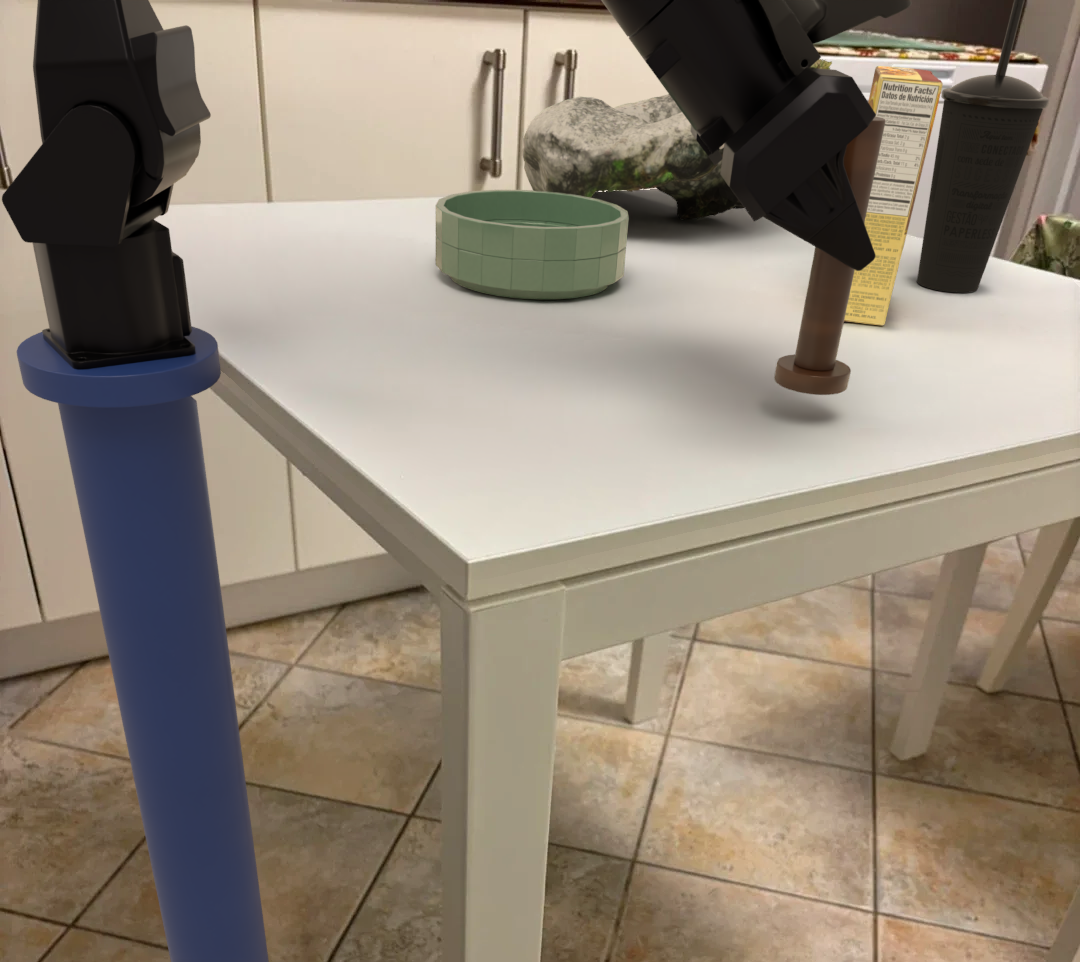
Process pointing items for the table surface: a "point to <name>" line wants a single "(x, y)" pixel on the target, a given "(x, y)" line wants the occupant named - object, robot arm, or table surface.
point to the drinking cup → (976, 170)
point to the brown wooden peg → (831, 290)
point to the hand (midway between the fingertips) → (861, 258)
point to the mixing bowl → (530, 243)
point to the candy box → (893, 182)
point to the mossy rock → (626, 153)
